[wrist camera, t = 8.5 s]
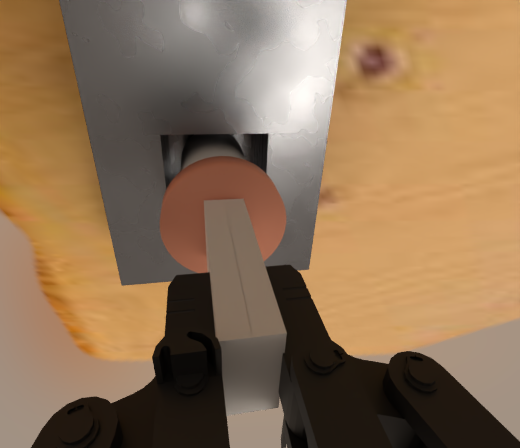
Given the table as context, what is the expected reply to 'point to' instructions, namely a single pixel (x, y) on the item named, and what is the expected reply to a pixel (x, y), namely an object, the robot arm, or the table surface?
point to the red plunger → (217, 198)
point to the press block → (203, 106)
